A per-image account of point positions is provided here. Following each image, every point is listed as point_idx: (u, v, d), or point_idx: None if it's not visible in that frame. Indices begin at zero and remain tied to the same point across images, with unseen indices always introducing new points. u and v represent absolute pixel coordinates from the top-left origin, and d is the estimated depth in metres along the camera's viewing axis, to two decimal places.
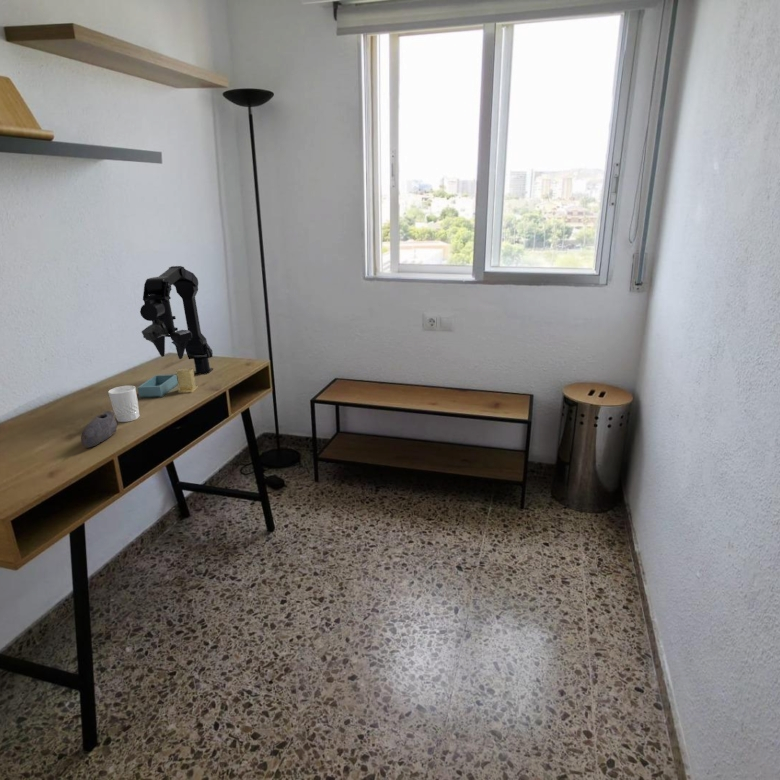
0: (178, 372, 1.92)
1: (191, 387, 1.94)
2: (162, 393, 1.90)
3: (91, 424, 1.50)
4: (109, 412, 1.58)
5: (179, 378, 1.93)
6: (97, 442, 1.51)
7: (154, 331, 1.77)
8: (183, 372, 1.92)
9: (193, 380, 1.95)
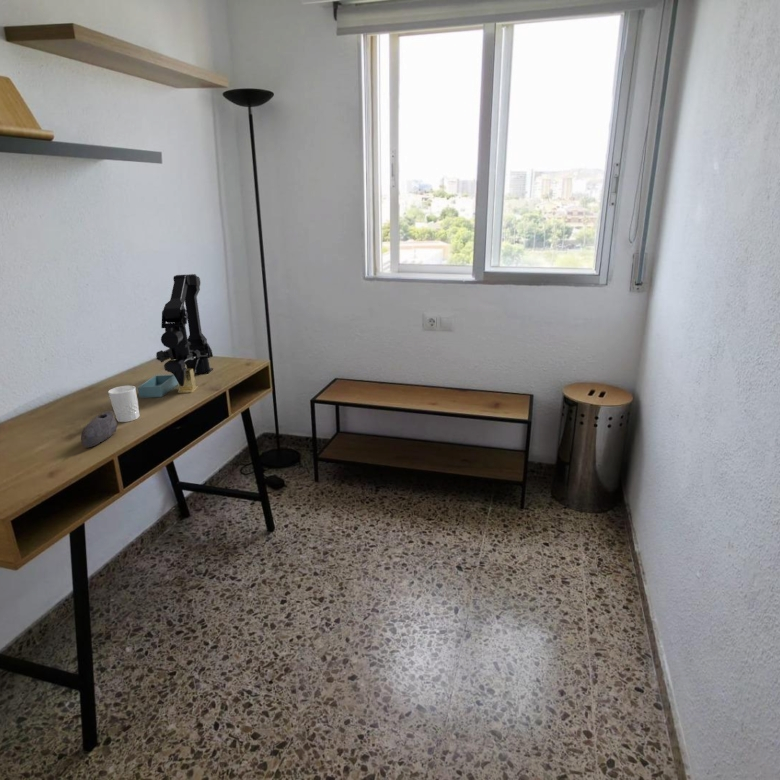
0: None
1: (191, 387, 1.94)
2: (162, 393, 1.90)
3: (91, 424, 1.50)
4: (109, 412, 1.58)
5: None
6: (97, 442, 1.51)
7: None
8: None
9: (193, 380, 1.95)
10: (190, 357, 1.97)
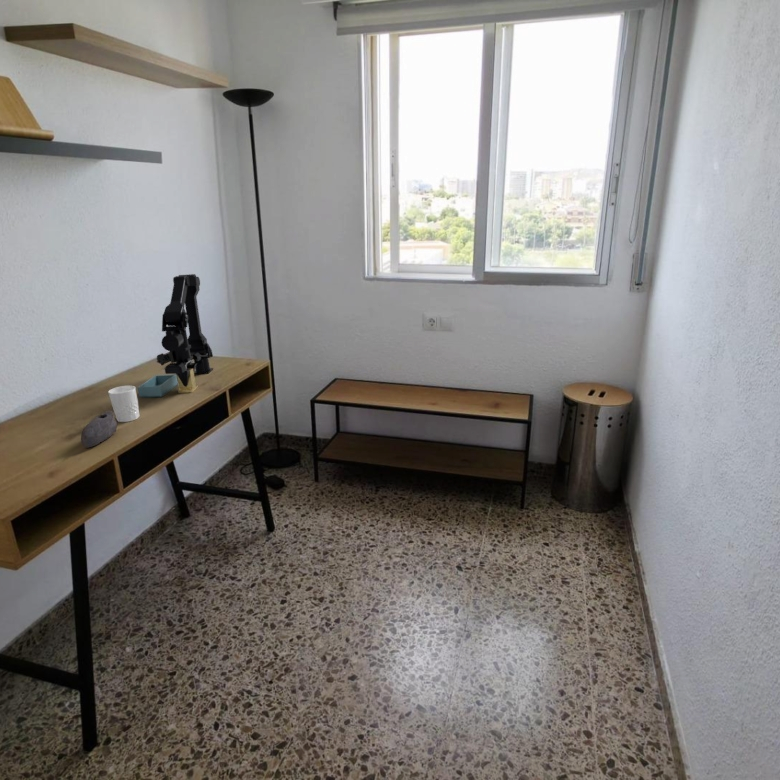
0: None
1: (191, 387, 1.94)
2: (162, 393, 1.90)
3: (91, 424, 1.50)
4: (109, 412, 1.58)
5: (179, 378, 1.93)
6: (97, 442, 1.51)
7: None
8: None
9: (193, 380, 1.95)
10: (187, 362, 1.95)
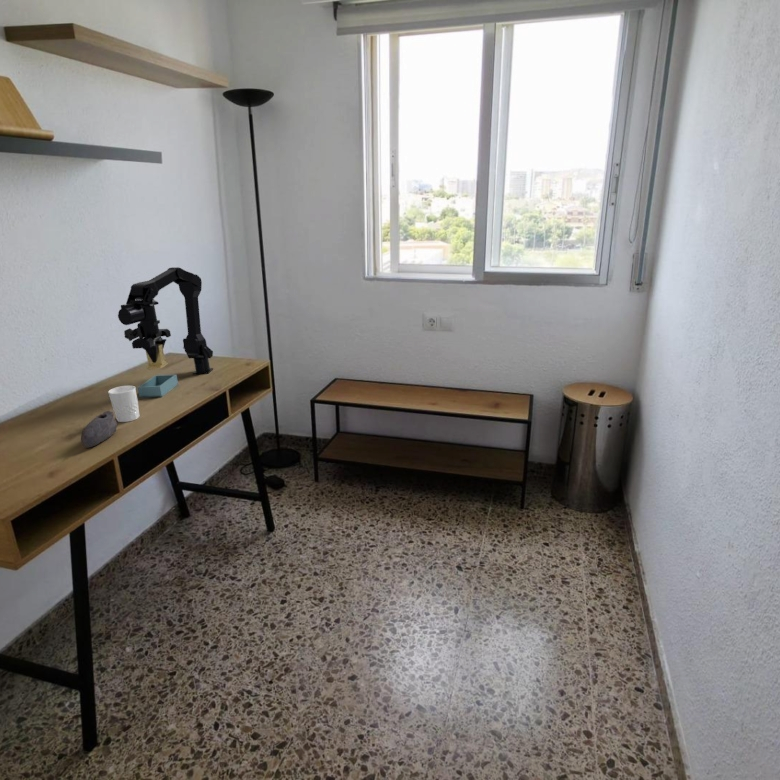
0: None
1: (160, 363, 1.91)
2: (162, 393, 1.90)
3: (91, 424, 1.50)
4: (109, 412, 1.57)
5: None
6: (97, 442, 1.50)
7: None
8: None
9: (162, 356, 1.92)
10: (156, 338, 1.92)
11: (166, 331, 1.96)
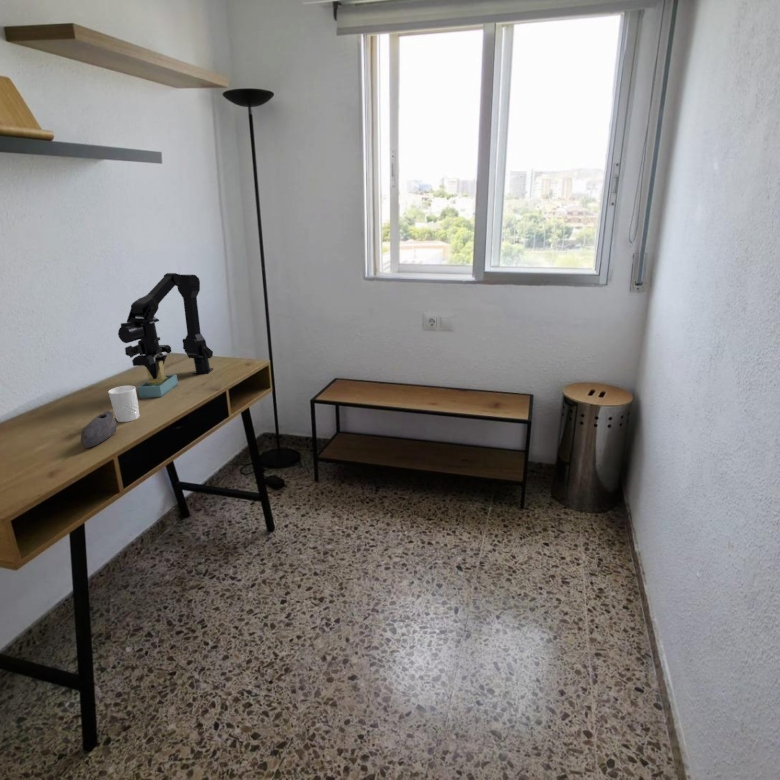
0: None
1: (160, 379, 1.94)
2: (162, 393, 1.90)
3: (91, 424, 1.50)
4: (109, 412, 1.57)
5: None
6: (97, 442, 1.50)
7: None
8: None
9: (163, 372, 1.94)
10: (157, 354, 1.94)
11: (167, 347, 1.98)
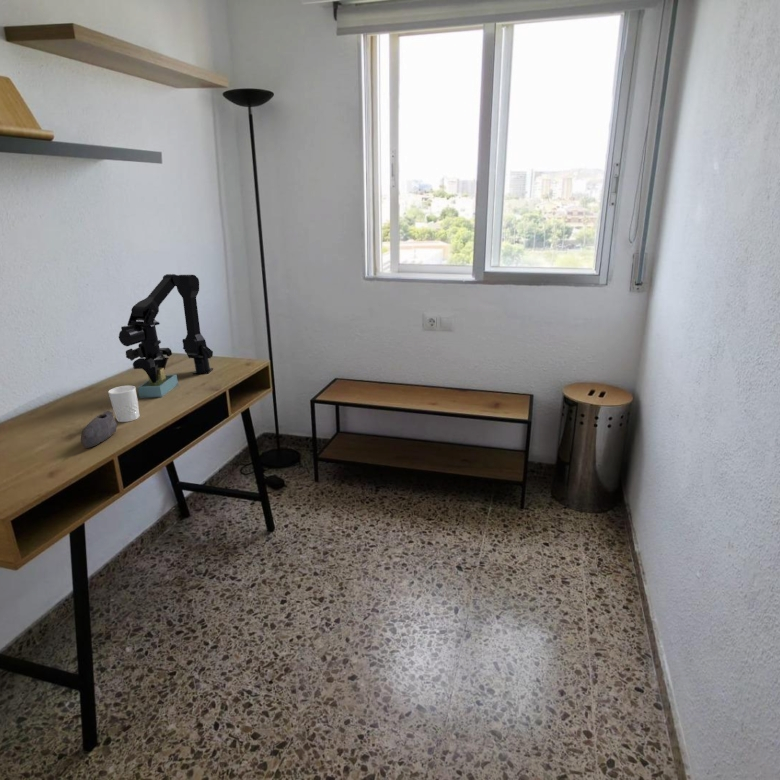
0: None
1: None
2: (162, 393, 1.90)
3: (91, 424, 1.50)
4: (109, 412, 1.57)
5: None
6: (97, 442, 1.50)
7: None
8: None
9: (164, 379, 1.95)
10: (159, 357, 1.96)
11: (167, 350, 1.98)
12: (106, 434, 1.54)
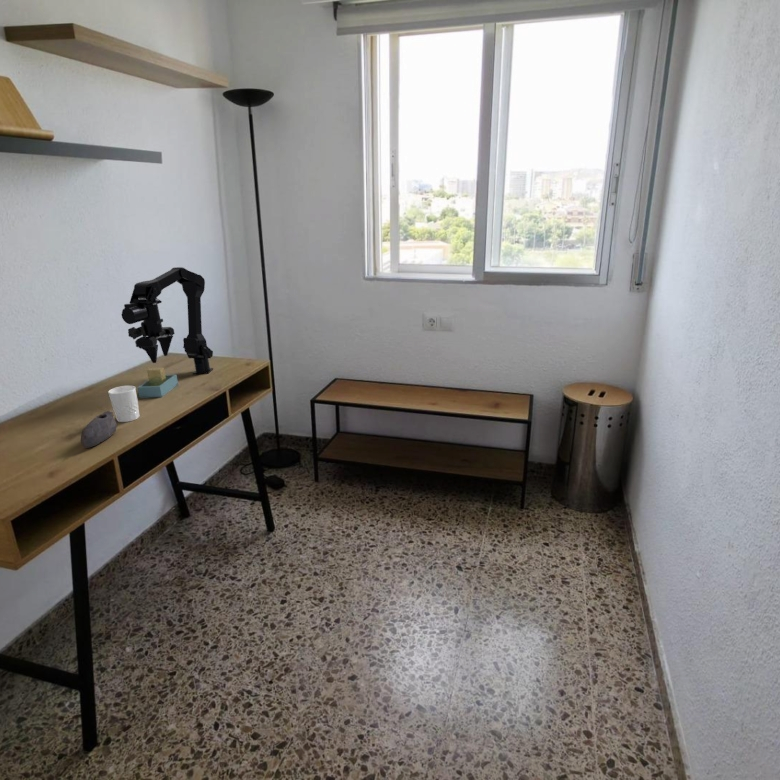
0: (148, 371, 1.93)
1: None
2: (162, 393, 1.90)
3: (91, 424, 1.50)
4: (109, 412, 1.57)
5: (150, 377, 1.93)
6: (97, 442, 1.50)
7: None
8: (153, 371, 1.93)
9: (164, 379, 1.95)
10: (163, 334, 1.97)
11: (170, 329, 1.98)
12: (106, 434, 1.54)
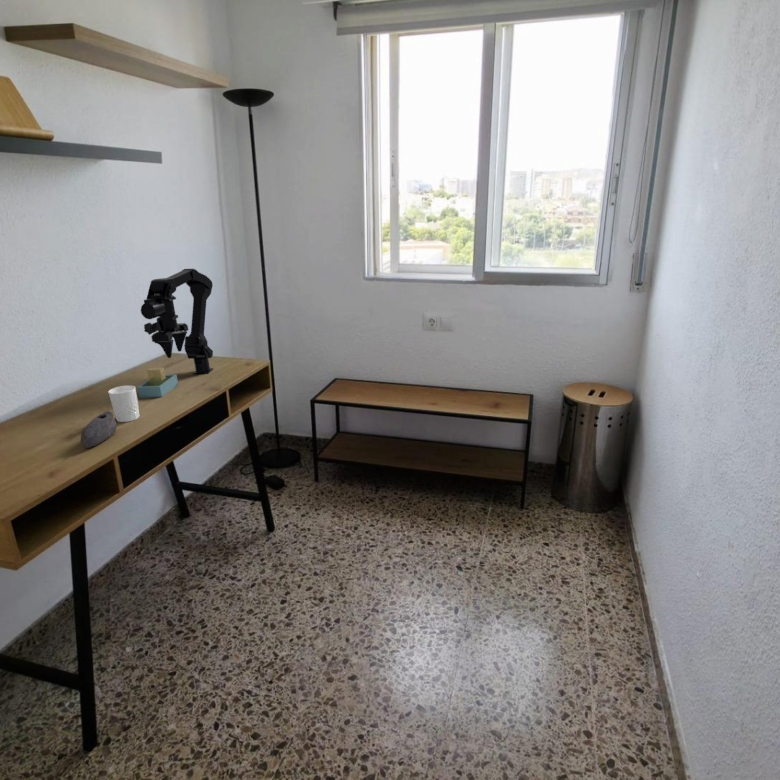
0: (148, 371, 1.93)
1: None
2: (162, 393, 1.90)
3: (91, 424, 1.50)
4: (108, 412, 1.57)
5: (150, 377, 1.93)
6: (97, 442, 1.50)
7: None
8: (153, 371, 1.93)
9: (164, 379, 1.95)
10: (178, 330, 2.01)
11: (184, 325, 2.02)
12: (106, 434, 1.54)
